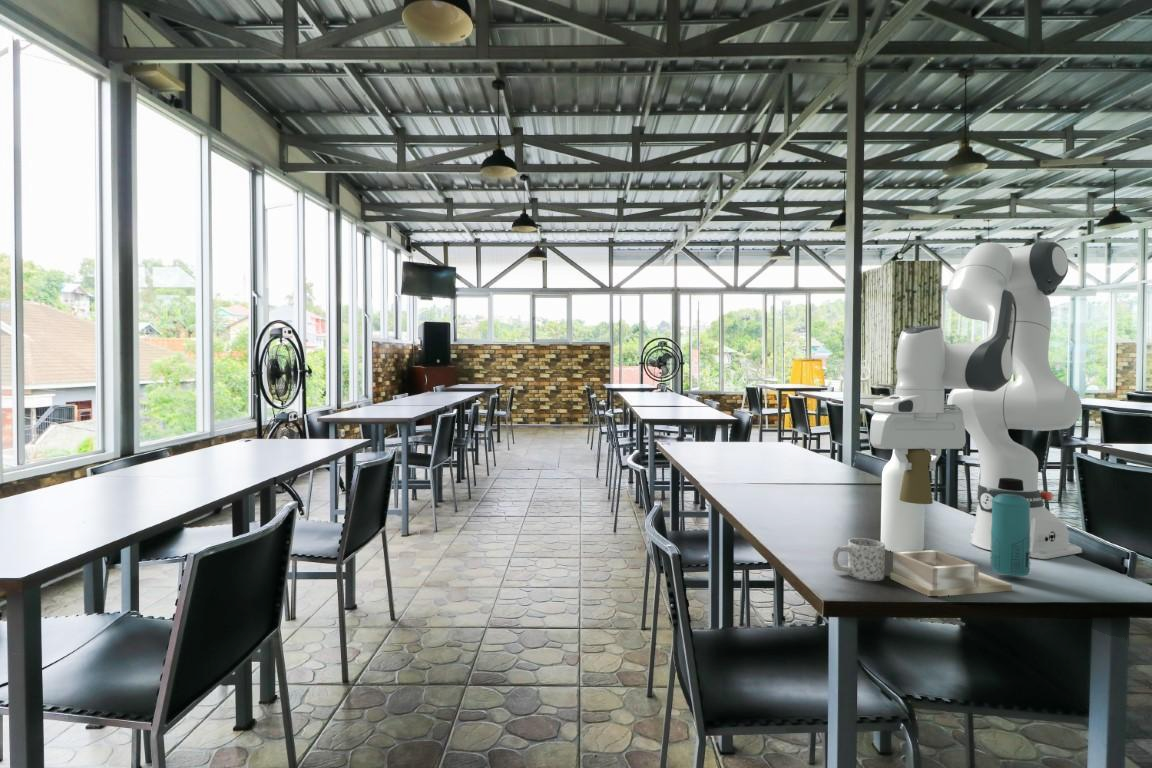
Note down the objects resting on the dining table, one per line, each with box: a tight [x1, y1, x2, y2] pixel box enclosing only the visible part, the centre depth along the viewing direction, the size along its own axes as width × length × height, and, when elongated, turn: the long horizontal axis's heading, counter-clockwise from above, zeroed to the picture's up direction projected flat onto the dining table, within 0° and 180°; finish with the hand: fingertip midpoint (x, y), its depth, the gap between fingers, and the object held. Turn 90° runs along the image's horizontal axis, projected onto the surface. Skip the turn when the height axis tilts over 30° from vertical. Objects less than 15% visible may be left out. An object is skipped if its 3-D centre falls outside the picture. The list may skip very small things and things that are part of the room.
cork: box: [899, 449, 934, 505], centre depth 125 cm, size 6×6×11 cm
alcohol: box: [880, 449, 926, 553], centre depth 140 cm, size 9×9×30 cm
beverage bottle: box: [989, 478, 1031, 577], centre depth 121 cm, size 6×7×20 cm
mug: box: [832, 537, 886, 582], centre depth 122 cm, size 10×7×7 cm
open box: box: [889, 549, 1013, 597], centre depth 117 cm, size 18×10×5 cm, turn 102°
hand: (917, 470), depth 125 cm, fingers closed on cork, 4 cm apart
